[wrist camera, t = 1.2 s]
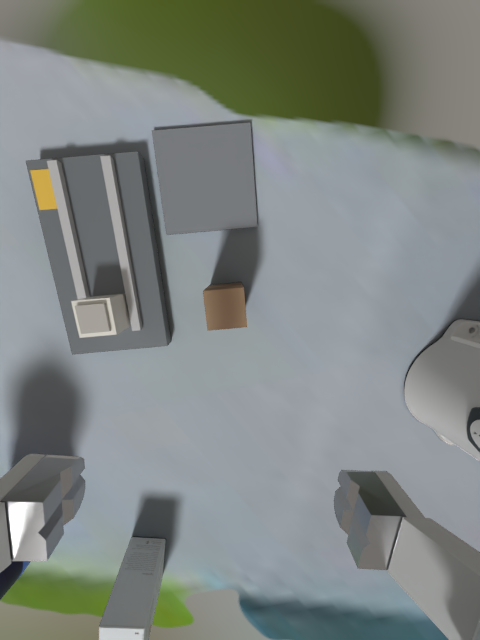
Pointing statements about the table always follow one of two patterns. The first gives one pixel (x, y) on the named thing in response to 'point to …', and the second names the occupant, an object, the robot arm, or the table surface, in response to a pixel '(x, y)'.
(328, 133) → the table surface
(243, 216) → the mat
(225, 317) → the wooden block
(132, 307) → the switch panel
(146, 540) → the small box
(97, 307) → the switch tab
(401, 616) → the table surface
